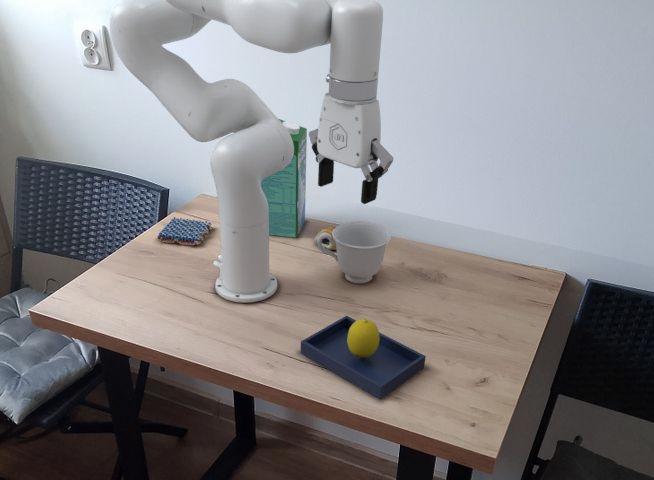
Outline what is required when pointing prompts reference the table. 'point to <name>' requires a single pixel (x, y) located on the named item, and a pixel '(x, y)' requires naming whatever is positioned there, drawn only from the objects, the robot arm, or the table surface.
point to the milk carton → (288, 188)
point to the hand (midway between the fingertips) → (346, 192)
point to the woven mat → (184, 231)
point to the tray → (363, 359)
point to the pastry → (326, 241)
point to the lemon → (363, 338)
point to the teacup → (358, 249)
